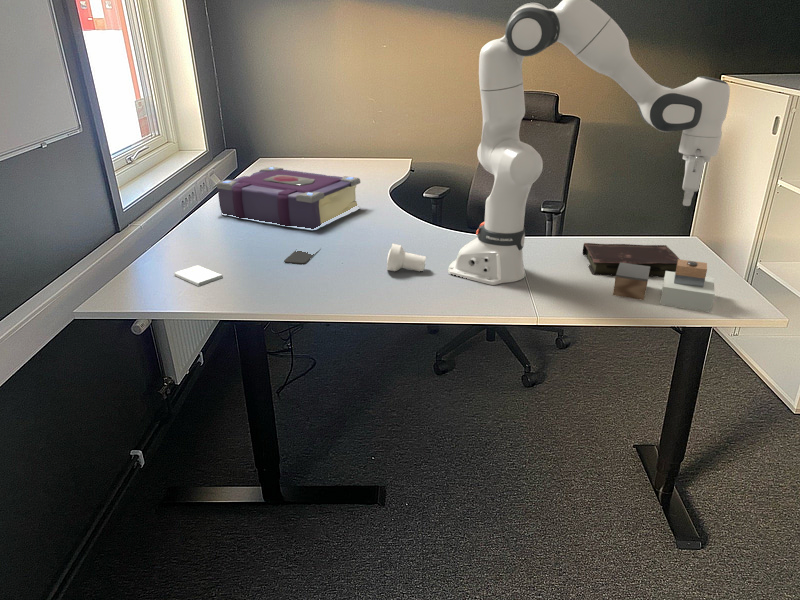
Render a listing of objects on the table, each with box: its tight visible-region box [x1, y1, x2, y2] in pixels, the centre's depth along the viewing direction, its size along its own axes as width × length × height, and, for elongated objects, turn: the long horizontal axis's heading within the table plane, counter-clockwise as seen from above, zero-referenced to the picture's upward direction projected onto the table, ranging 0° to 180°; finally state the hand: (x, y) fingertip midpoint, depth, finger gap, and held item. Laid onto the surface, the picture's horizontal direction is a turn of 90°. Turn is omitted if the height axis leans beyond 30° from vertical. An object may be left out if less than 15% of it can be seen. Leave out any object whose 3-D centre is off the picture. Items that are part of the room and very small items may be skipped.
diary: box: [582, 242, 680, 278], centre depth 183 cm, size 19×25×5 cm
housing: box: [674, 258, 708, 288], centre depth 159 cm, size 5×7×5 cm
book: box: [215, 166, 361, 229], centre depth 234 cm, size 33×45×14 cm
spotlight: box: [386, 243, 427, 272], centre depth 180 cm, size 8×11×8 cm
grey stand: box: [659, 271, 716, 313], centre depth 161 cm, size 12×12×5 cm
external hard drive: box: [173, 264, 224, 287], centre depth 178 cm, size 2×8×12 cm
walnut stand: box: [612, 262, 650, 301], centre depth 166 cm, size 8×10×6 cm
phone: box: [283, 250, 314, 265], centre depth 194 cm, size 7×1×15 cm
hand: (686, 200), depth 157 cm, fingers open, 8 cm apart
